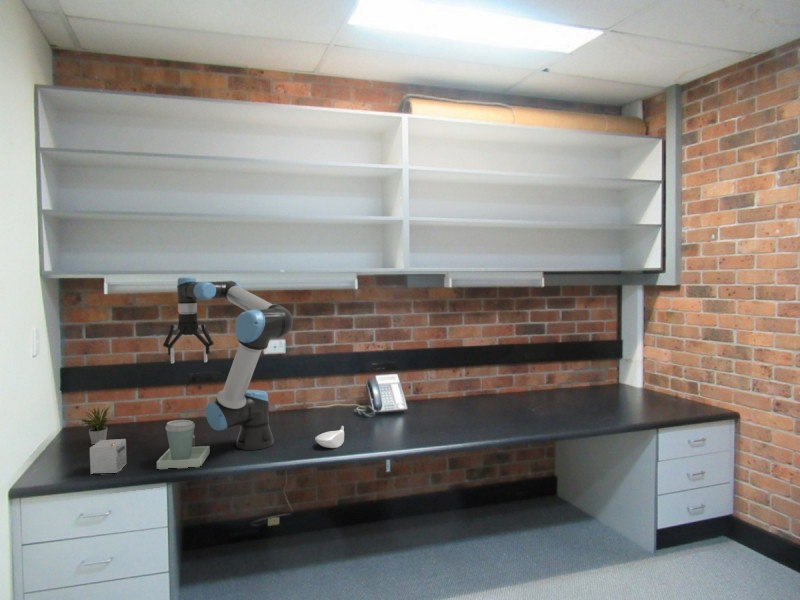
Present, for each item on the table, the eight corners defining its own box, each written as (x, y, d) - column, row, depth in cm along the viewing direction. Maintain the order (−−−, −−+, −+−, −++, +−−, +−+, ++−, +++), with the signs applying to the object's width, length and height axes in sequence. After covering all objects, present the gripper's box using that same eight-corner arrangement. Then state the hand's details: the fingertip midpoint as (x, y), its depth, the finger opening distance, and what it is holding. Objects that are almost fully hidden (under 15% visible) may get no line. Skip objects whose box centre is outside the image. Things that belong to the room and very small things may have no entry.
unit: (127, 464, 198) (126, 437, 197) (117, 473, 189) (116, 445, 188) (100, 466, 197) (99, 439, 196) (89, 475, 188) (88, 446, 187)
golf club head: (351, 425, 219) (326, 418, 213) (346, 451, 214) (321, 444, 209) (339, 427, 227) (315, 421, 221) (334, 452, 222) (309, 446, 217)
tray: (209, 453, 210) (209, 445, 209) (200, 467, 194) (199, 459, 194) (169, 455, 208) (169, 448, 208) (156, 469, 192) (156, 461, 192)
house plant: (98, 436, 233) (96, 400, 233) (125, 437, 231) (124, 401, 230) (72, 446, 219) (71, 408, 219) (101, 448, 217) (99, 410, 216)
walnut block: (194, 446, 219) (194, 434, 219) (195, 449, 214) (194, 438, 214) (181, 447, 217) (181, 436, 217) (181, 451, 212) (181, 439, 212)
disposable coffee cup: (188, 452, 208) (187, 416, 208) (201, 459, 201) (199, 421, 200) (161, 460, 201) (160, 421, 200) (173, 466, 193) (172, 427, 193)
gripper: (219, 312, 227) (221, 360, 228) (160, 313, 224) (161, 361, 225) (215, 313, 219) (217, 362, 221) (154, 314, 216) (155, 364, 217)
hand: (189, 362), depth 223 cm, fingers open, 13 cm apart
